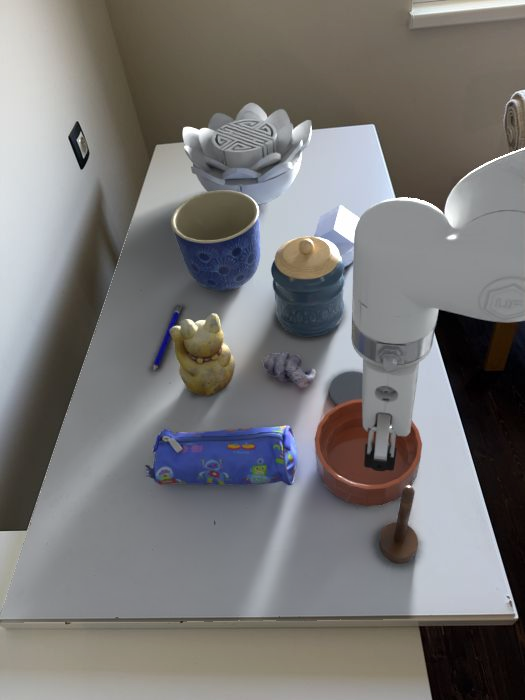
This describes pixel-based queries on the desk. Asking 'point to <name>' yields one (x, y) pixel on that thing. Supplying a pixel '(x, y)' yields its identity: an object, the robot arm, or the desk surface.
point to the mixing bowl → (362, 458)
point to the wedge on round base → (339, 231)
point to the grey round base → (346, 387)
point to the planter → (219, 238)
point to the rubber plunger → (400, 533)
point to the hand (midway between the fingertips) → (382, 429)
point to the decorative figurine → (203, 355)
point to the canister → (308, 286)
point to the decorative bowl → (248, 152)
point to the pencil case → (225, 457)
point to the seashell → (288, 368)
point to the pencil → (166, 337)
